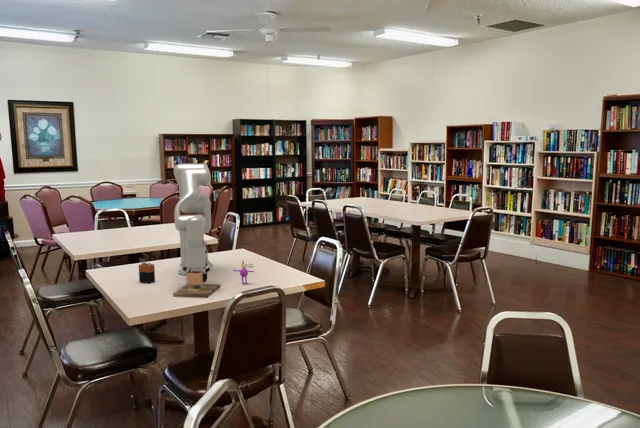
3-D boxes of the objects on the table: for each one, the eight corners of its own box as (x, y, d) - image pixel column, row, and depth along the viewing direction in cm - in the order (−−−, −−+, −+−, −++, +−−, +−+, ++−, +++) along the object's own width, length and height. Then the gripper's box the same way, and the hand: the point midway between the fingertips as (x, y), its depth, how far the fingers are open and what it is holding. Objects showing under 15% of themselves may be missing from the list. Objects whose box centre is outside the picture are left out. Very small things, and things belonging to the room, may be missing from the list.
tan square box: (192, 280, 239) (192, 270, 238) (206, 280, 238) (206, 270, 237) (187, 284, 232) (186, 273, 231) (201, 284, 231) (201, 274, 230)
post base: (188, 286, 245) (188, 268, 244) (220, 287, 243) (219, 269, 242) (173, 296, 227) (172, 277, 226) (207, 297, 225) (206, 278, 224)
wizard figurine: (255, 283, 249) (255, 260, 247) (253, 285, 246) (253, 261, 244) (234, 282, 251) (234, 259, 250) (232, 284, 248) (231, 260, 247)
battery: (145, 280, 257) (144, 261, 255) (155, 281, 254) (154, 262, 253) (139, 282, 253) (138, 263, 251) (149, 283, 250) (148, 264, 249)
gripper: (216, 242, 235) (217, 279, 237) (181, 242, 237) (182, 278, 240) (210, 245, 228) (212, 283, 230) (174, 244, 230) (176, 282, 232)
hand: (197, 280), depth 235 cm, fingers closed on tan square box, 6 cm apart
